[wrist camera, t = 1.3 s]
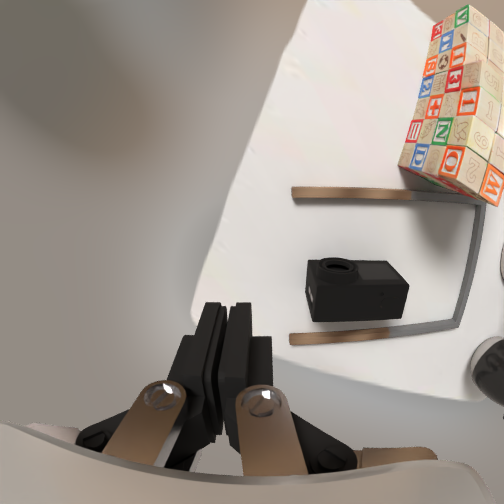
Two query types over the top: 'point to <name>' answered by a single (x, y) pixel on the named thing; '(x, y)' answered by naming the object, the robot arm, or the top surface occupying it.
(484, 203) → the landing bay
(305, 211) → the top surface
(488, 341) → the black rounded mouse
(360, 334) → the shelf lane
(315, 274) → the digital camera
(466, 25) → the stack of blocks
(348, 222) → the top surface
